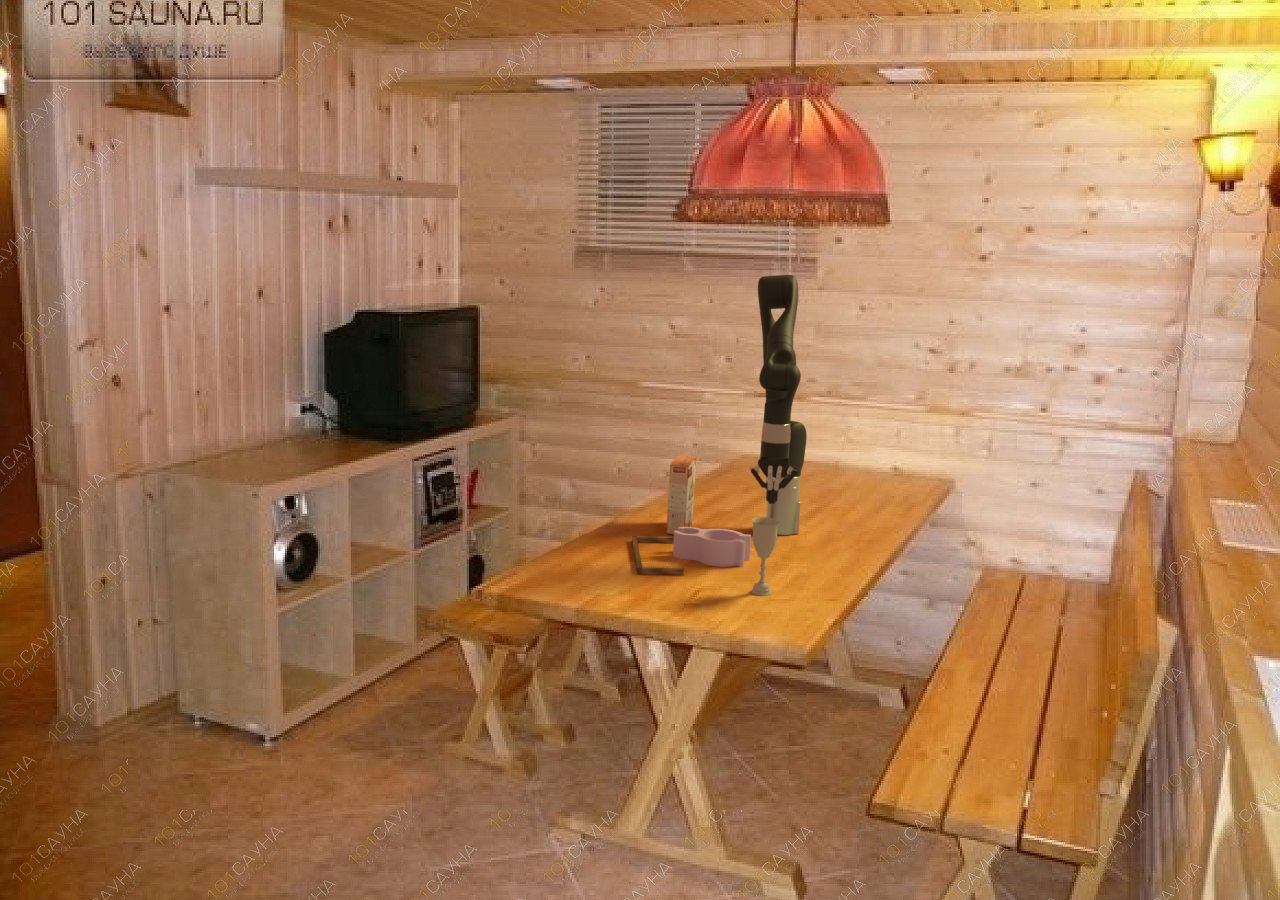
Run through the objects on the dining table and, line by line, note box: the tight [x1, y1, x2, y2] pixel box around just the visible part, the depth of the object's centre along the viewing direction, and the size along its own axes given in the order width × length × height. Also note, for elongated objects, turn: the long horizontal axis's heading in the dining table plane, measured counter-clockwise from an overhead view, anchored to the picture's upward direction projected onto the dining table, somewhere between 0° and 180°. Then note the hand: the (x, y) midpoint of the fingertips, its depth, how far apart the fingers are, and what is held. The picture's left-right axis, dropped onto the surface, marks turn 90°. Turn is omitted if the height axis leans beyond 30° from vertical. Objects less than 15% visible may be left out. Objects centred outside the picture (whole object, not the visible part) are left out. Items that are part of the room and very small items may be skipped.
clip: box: [672, 526, 752, 568], centre depth 290 cm, size 20×12×7 cm, turn 70°
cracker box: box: [666, 455, 697, 536], centre depth 315 cm, size 14×6×21 cm, turn 168°
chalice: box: [750, 516, 780, 597], centre depth 263 cm, size 7×7×18 cm
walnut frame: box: [631, 535, 685, 576], centre depth 289 cm, size 12×30×2 cm, turn 3°
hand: (771, 503), depth 288 cm, fingers closed
